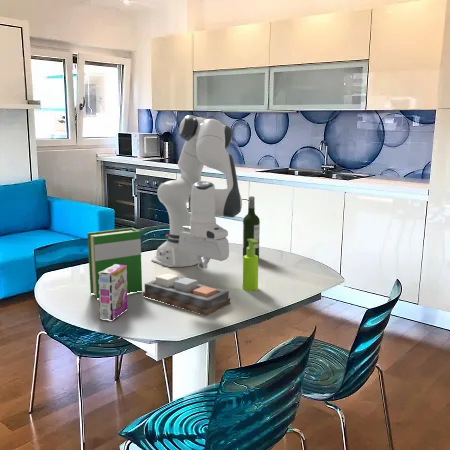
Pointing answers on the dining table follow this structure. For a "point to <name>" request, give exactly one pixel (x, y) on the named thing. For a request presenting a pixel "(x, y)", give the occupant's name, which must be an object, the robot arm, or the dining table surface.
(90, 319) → the dining table surface
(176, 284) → the grey key
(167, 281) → the cream key
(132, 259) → the hardback book
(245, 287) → the soap dispenser
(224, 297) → the compartment tray
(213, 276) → the dining table surface
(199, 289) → the terracotta key
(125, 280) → the candy bar box
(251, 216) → the wine bottle
